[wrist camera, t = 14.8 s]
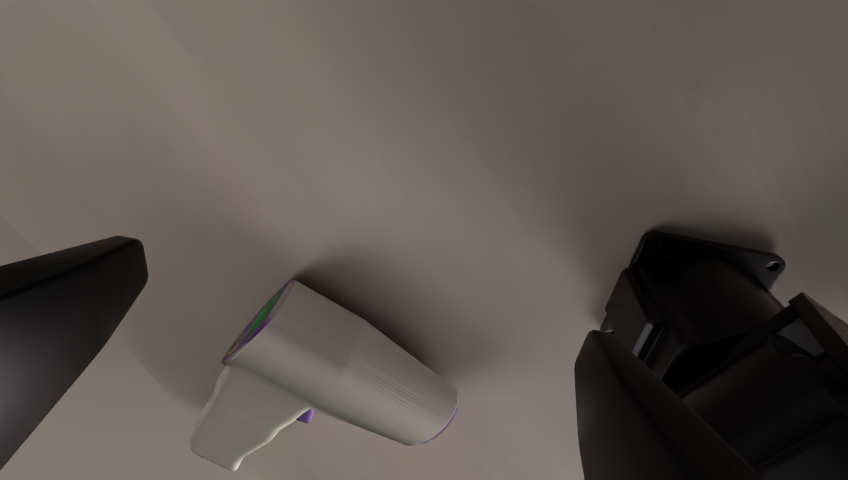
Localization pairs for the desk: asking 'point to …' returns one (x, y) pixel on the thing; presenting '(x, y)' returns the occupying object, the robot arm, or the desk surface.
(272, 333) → the infrared thermometer
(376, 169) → the desk surface
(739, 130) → the desk surface
